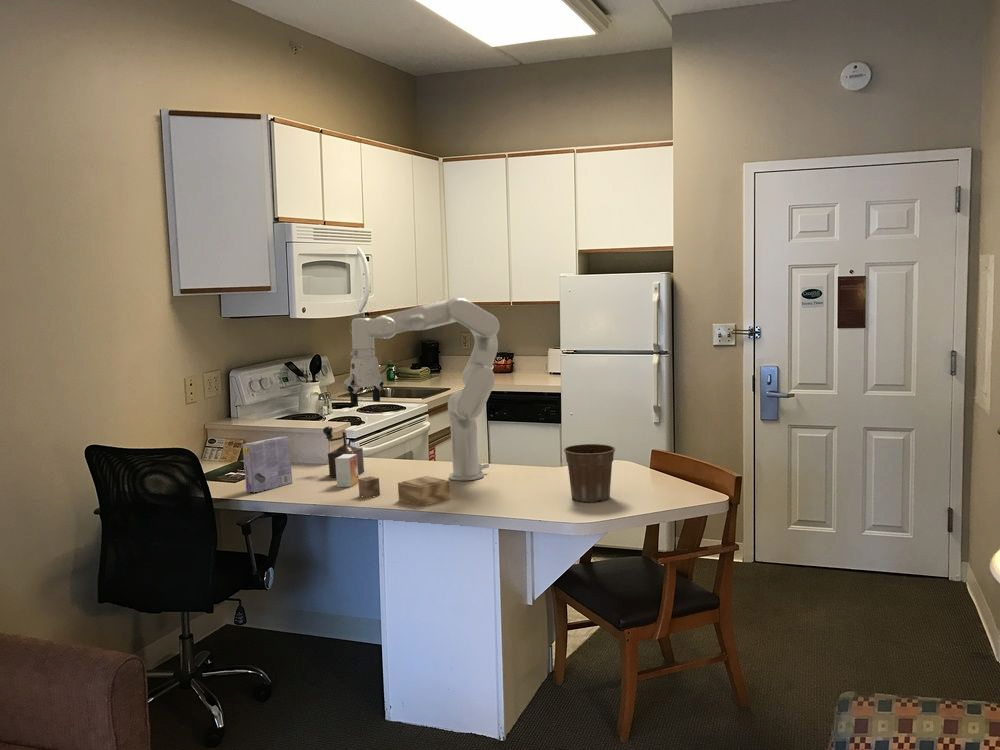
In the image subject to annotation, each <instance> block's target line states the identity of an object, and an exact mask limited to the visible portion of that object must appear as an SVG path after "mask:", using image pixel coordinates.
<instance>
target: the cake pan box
mask: <svg viewBox="0 0 1000 750" xmlns="http://www.w3.org/2000/svg"><path fill="white" fill-rule="evenodd" d="M242 454H243V455H242V456H243V467H244V468H243V469H244V478H245V479H244V480H245V491H246V492H247V493H250V492H253V493H252V494H256V493H255V492H257V493H260V492H259V491H261V492H265V491H268V489H269V490H273V489H277V488H279V486H280V487H282V486H287V485H291V484H293V473H292V464H291V463H292V461H291V448H290V437H289V436H279V437H273V438H268V439H262V440H258V441H257V440H256V441H253V442H247V443H242ZM290 483H291V484H290ZM276 487H277V488H276ZM272 488H273V489H272ZM264 490H265V491H264Z"/></svg>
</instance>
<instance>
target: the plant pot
mask: <svg viewBox="0 0 1000 750" xmlns="http://www.w3.org/2000/svg"><path fill="white" fill-rule="evenodd" d="M563 451H564V454H565V459H566V463H567V467H568V476H569V477H568V478H569V483H570V484H569V485H570V486H569V487H570V495H571V499H572V500H575V501H577V502H582V503H598V501H600V502H605V501H607V500H609V499H610V498H611V486H612V485H611V483H612V471H613V470H612V468H613V462H614V455H615V452H616V447H615V446H613V445H609V444H599V443H597V444H596V443H590V444H589V443H588V444H587V443H585V444H575V445H570V446H566V447H564V448H563Z"/></svg>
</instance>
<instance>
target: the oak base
mask: <svg viewBox="0 0 1000 750" xmlns="http://www.w3.org/2000/svg"><path fill="white" fill-rule="evenodd" d="M397 488H398V490H397V492H398V501H399V502H404V503H408V504H411V505H416V506H418V507H423V505H424V506H426V505H427V504H428V505H431V504H434V503H438V502H442V501H446V500H450V499H451V493H450V492H451V489H450V480H446V479H444V478H443V479H442V478H438V477H433V476H429V475H428V476H427V475H425V476H424V475H423V476H421V477H417V478H412V479H407V480H404V481H400V482H397Z"/></svg>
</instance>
